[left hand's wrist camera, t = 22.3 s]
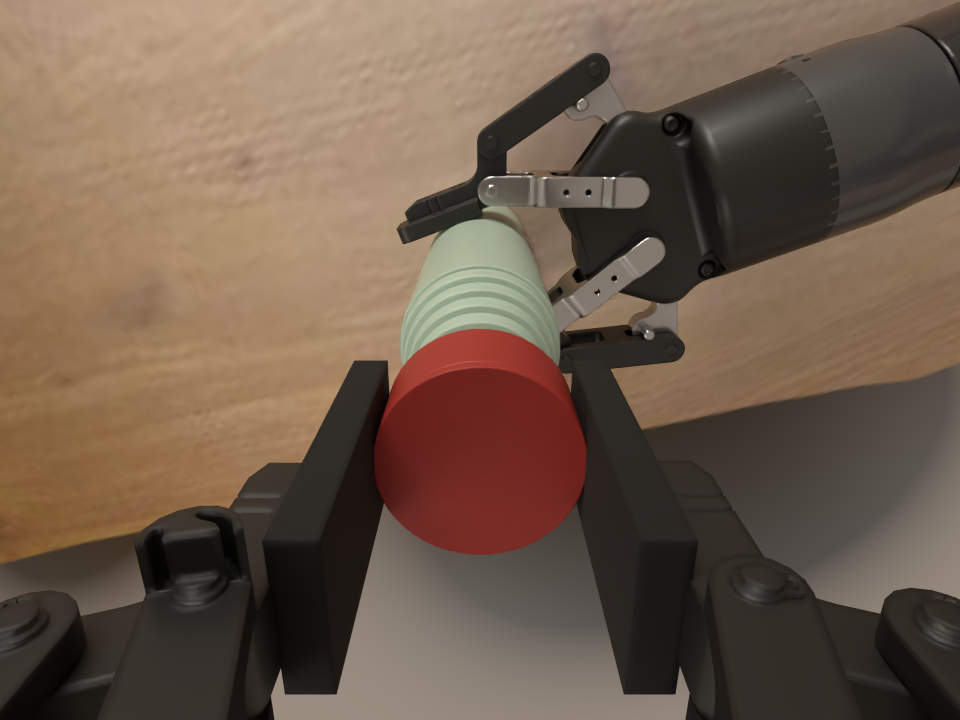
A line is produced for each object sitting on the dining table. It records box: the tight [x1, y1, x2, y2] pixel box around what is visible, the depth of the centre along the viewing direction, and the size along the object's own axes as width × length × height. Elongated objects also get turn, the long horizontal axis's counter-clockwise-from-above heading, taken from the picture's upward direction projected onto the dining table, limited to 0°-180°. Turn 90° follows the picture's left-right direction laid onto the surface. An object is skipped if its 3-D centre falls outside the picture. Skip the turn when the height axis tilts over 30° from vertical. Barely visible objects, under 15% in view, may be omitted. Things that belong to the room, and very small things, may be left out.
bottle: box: [400, 206, 560, 366], centre depth 24 cm, size 5×5×23 cm
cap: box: [374, 329, 587, 555], centre depth 14 cm, size 4×4×2 cm
